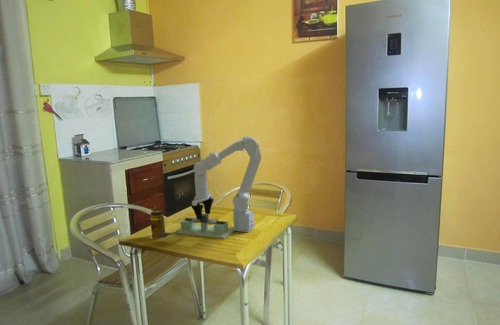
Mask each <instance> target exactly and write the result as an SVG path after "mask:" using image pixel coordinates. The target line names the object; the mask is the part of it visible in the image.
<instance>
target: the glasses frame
mask: <svg viewBox="0 0 500 325" xmlns="http://www.w3.org/2000/svg"><path fill="white" fill-rule="evenodd" d="M209 218H210V217H209V214H205V213H202V219H197V217H196V216H195V217H185V218H184V220H187V221H192V222H193V223H195V224H199V223H200V224H201V223H207V224H208V225H209V226H210V225H211V226H212V225H215V224H225V222H226V221H225V220H223V221H222V220H218V219H217V218H210V219H209Z"/></svg>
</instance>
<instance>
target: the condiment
mask: <svg viewBox="0 0 500 325" xmlns="http://www.w3.org/2000/svg"><path fill="white" fill-rule="evenodd" d="M149 221H150V229H151V236H152V238H154V239H153V240H163V239H165V238H166V237H168V236H169V235H171V234H172V232H166V227H165V226H166V224H165V216H164V214H163V210H161V209H160V210H159V209H158V210H152V211H151V212H150V219H149Z"/></svg>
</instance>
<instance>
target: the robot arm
mask: <svg viewBox="0 0 500 325" xmlns="http://www.w3.org/2000/svg"><path fill="white" fill-rule="evenodd" d="M244 150H245V151H246V153H247V154H248V156H249V161H248V164H247V167H246V170H245V173H244V175H243V178H242V182H241V183H240V187H239V189H238V190H237V192H236V194H235V196H234V197H233V198H232V204H233V206H234V208H233V209H232V219H233V227H232V228H231V229H234V232H245V233H249V232H250V231H252V230H253V229H254V228H255V227H256V225H255V216H254V212H253V211H251V210H249V208H248V206H249V204H248V203H249V202H248V201H249V196H250V191H251V189H252V185H253V183H254V181H255V177H256V175H257V172H258V168H259V166H260V163H261V160H262V154H261V150H260V145H259V143H258V142H257V140H256V139H255V138H254V137H252V136H248V135H247V136H244V137H243V138H240V139H238V140H236V141H235V142H233V143H232V144H230V145H228V146H227V147H226V148H224V149H222V150H221V151H220V152H218V153H217V152H213V153H212V152H211V153H209V155H208V156H206V157H205V158H201V159H200V161H197V162H195V164H194V166H193V172H194V188H195V196H194V197H193V200H192V201H191V204H190V207H191V208H192V210H193V211H194V214H195V218H196V217H197V219H202V214H203V208H204V214H208V215H210V214H211V209H212V205H213V203H214V198H213V194H212V193H209V187H208V177H207V172H208V171H210V170H212V169H214V168H215V167H217V166H218V165H220V164H221V163H222V160H223V159H225V158H227V157H229V156H230V155H231V154H234V153H235V152H238V151H240V152H241V151H243V152H244ZM201 203H202V204H201Z"/></svg>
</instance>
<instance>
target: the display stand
mask: <svg viewBox="0 0 500 325" xmlns="http://www.w3.org/2000/svg"><path fill="white" fill-rule="evenodd" d="M208 225H209V224H207V223H201V222H200V224H196V223H193V222H192V221H187V220H185V219H183V220H181V221H180V227H179V228H177V230H175V231H174V232H175V234H181V235H189V236H190V235H191V236H197V237H198V236H199V237H206V238H214V239H220V240H221V239H222V240H225V239H226V238H227V237H229V236H230V235H231V234H233V233H234V232H235V231H234V229H232V228H229V221H225V224H213V226H212V225H211V226H210V225H209V226H208Z"/></svg>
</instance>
